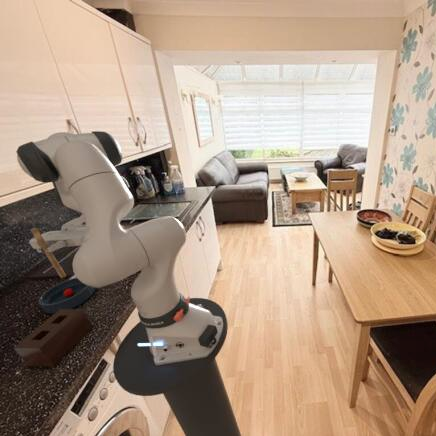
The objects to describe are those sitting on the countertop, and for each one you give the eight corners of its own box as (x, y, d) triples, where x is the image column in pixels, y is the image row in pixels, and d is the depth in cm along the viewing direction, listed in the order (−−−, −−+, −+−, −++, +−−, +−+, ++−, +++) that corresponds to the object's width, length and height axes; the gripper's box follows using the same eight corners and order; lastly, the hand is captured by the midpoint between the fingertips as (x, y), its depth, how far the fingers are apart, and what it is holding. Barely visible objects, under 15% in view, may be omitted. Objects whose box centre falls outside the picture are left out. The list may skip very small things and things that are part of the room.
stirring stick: (67, 275, 88) (38, 227, 79) (63, 278, 87) (33, 229, 78) (63, 275, 88) (33, 227, 79) (59, 278, 87) (28, 230, 78)
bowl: (104, 286, 99) (99, 276, 96) (72, 315, 85) (65, 305, 83) (71, 286, 100) (65, 277, 98) (34, 315, 86) (26, 305, 84)
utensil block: (93, 326, 80) (82, 309, 76) (54, 366, 68) (39, 348, 64) (71, 326, 80) (59, 309, 77) (29, 366, 68) (13, 347, 65)
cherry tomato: (76, 290, 95) (73, 288, 93) (72, 297, 94) (69, 296, 91) (67, 288, 94) (64, 287, 92) (63, 296, 93) (59, 295, 90)
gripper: (47, 226, 93) (9, 244, 80) (97, 222, 92) (67, 240, 80) (55, 239, 95) (20, 260, 83) (104, 236, 95) (76, 256, 82)
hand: (43, 250), depth 81 cm, fingers closed on stirring stick, 1 cm apart
